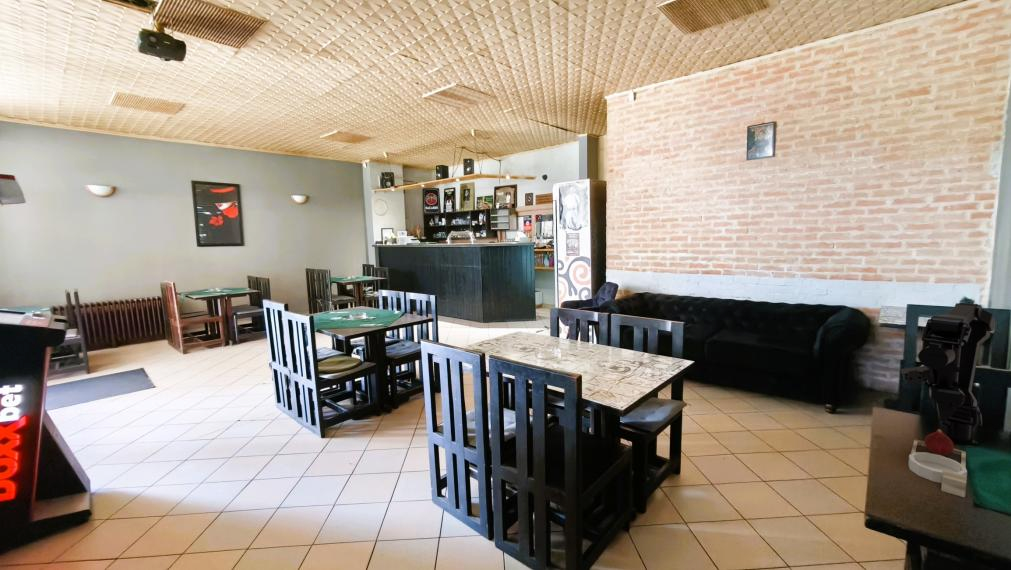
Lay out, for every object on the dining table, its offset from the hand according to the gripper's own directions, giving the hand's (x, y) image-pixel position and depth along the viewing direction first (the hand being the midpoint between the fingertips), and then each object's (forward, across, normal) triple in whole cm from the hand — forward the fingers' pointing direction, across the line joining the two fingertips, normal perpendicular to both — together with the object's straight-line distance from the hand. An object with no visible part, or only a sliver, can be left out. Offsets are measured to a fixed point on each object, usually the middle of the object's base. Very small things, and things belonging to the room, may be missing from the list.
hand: (939, 414), depth 117 cm
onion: (+13, -2, +1) cm, 14 cm away
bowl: (+13, +9, -1) cm, 16 cm away
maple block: (+14, +17, +1) cm, 22 cm away
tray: (+13, -2, +1) cm, 13 cm away
